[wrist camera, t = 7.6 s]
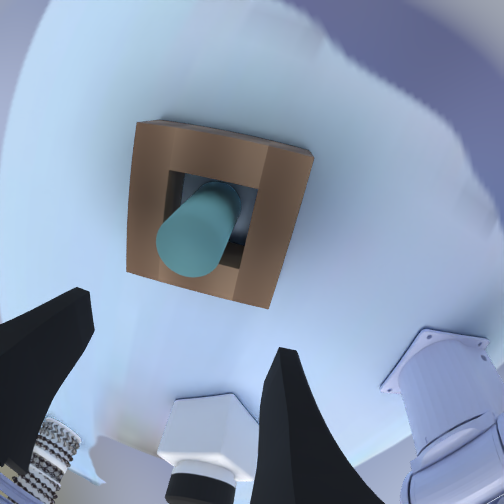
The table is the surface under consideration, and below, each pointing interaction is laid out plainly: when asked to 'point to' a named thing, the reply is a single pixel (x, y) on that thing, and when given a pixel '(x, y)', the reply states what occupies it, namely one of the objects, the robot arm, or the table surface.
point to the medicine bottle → (209, 449)
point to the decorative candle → (49, 461)
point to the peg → (199, 230)
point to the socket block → (225, 169)
